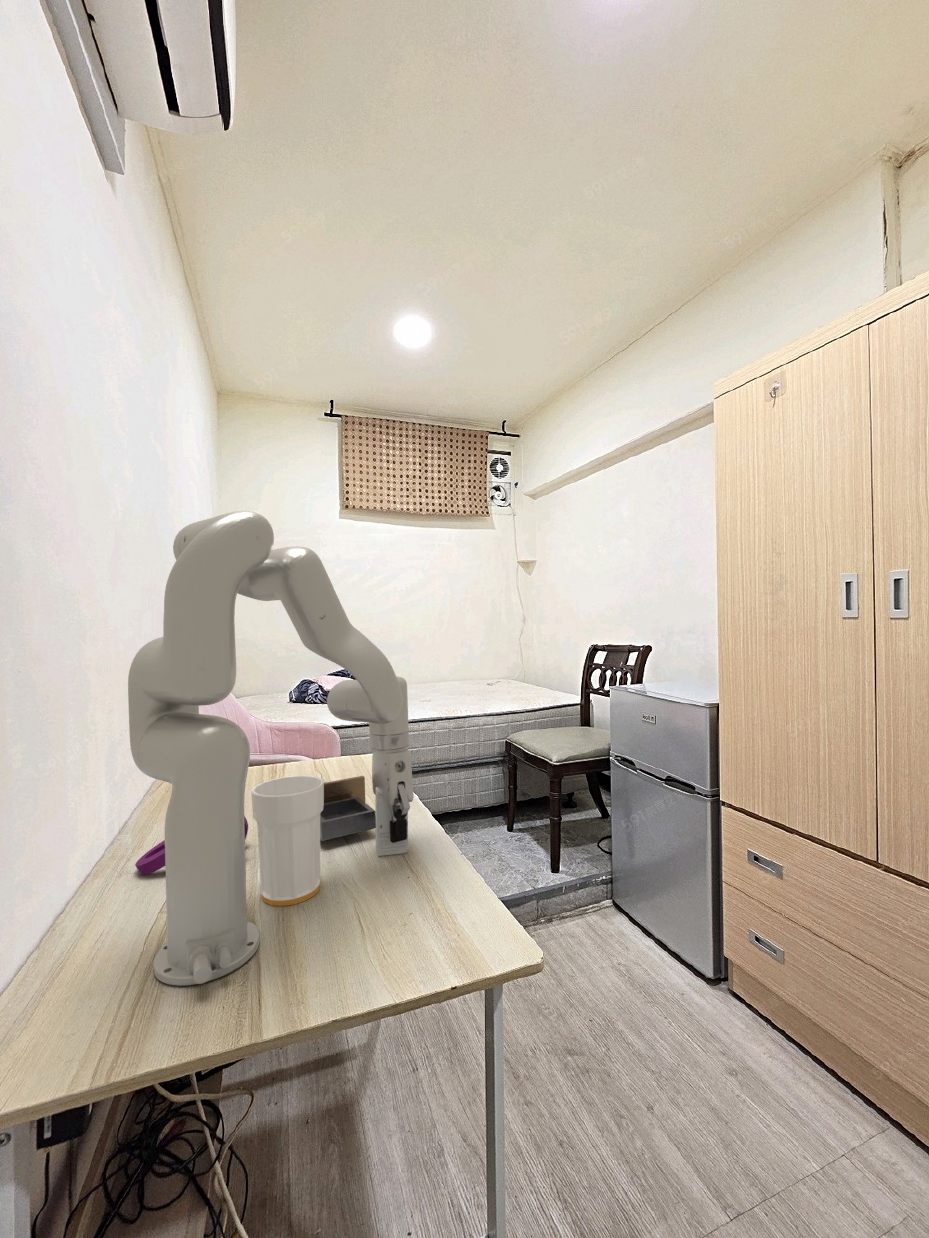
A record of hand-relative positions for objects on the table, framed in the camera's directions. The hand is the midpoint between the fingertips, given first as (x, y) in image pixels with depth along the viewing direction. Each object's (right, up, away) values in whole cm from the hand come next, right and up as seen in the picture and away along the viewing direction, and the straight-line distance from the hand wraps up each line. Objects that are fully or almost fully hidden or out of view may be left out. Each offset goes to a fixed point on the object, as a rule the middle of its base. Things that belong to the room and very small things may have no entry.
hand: (392, 834), depth 99 cm
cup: (-14, -3, -15) cm, 21 cm away
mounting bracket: (-37, -5, -3) cm, 37 cm away
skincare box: (0, -3, 0) cm, 3 cm away
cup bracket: (-13, -4, +9) cm, 16 cm away
